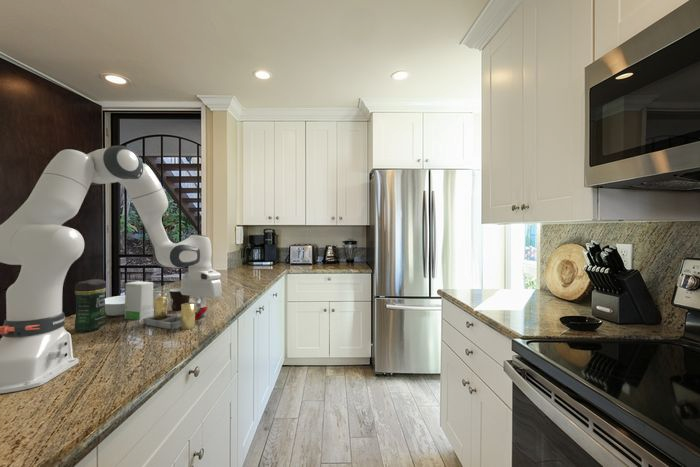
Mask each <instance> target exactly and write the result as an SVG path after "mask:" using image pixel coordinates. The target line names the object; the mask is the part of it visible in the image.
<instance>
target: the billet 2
mask: <svg viewBox="0 0 700 467" xmlns="http://www.w3.org/2000/svg"><path fill="white" fill-rule="evenodd" d="M195 307H196V302H189V303H184V304H181V313H180V315H181V330H183V331H186V330H187V331H188V330H193V329H195V328H196V319H195V312H196V308H195Z"/></svg>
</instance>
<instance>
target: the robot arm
mask: <svg viewBox="0 0 700 467" xmlns="http://www.w3.org/2000/svg"><path fill="white" fill-rule="evenodd" d="M114 183H119V184H120V185H122V186H123V187H124V188H125V190H126V192H127V194H128V197H129V198H130V201H131V202H132V205H133V207H134V208H135V210H136V211H137V213H138V216H139V218H140V220H141V221H140V222H141V223H142V226H143V228H144V231H145V233H146V235H147V237H148V239H149V241H150V242H149V243H150V244H151V248H152V257H153V261H154V262H155V264H156V265H157V266H159V267H161V268H171V269H172V268H173V269H183V268H188V269H187V271H188V272H185V273H184V274H183V275H182V276H181V277H182V278H181V282H180V288H181V290H180V292H181V294H182V295H189V296H190V297H193V299H194V301H195V302H194V303H195V307H196V308H199V309H200V308H203V307H206V305H205V304H206V301H207V299H217V298H220V297H221V296H222V291H223V290H222V281H221V277H222V273H220V272H218V271H217V270H214V268H212V267H213V266H212V253H213V252H212V243H211V242H212V241H211V239H210V237H208V236H207V235H203V234H194V233H193V234H190V235H189V236H188V237H186V238H185V239H184V240H181V241H178V242H177V243H175V242H173V241H171V240H170V239H169V237H168V234H167V232H166V230H165V227H164V224H163V221H162V218H163V216H164V214H165V213H166V212H167V210H168V207H169V200H168V197H167V194H166V192H165V189H164V188H163V186H162V184H161V182H160V180H159V178H158V177H157V175H156V173H155V172H154V170H152V169H151V167H150V166H149V165H148V164H146V163H144V162H142V160H141V158H140V157H139V155H138V154H137V153H136V152H135V151H134V150H133V149H132V148H131V147H128V146H125V145H112V146H108V147H105V148H100V149H96V150H94V151H91V152H88V153H85V152H83V151H80V150H77V149H72V148H71V149H63V150H60V151H59V152H58V153H57V154H56V155H55V156H54V157H53V158H52V159H51V160H50V162H49V163H48V164H47V165H46V167H45V169H44V170H43V172H42V173H41V174H40V177H39V179H38V180H37V182H36V184H35V186H34V187H33V189H32V191H31V193H30V195H29V196H28V198H27V199H26V200H25V201H24V203H23V204H21V206H20V207H19V208H17V210H16V211H14V213H12V215H11V216H9V218H8V219H6V220H5V221H4V222H3V223H1V224H0V263H2V264H6V265H11V266H13V265H14V266H17V265H18V266H21V268H20V272H19V273H18V277H17V278H16V280H15V281H14V283H12V284H10V286H8V288H7V290H6V292H5V300H6V301H5V304H6V305H5V306H6V310H5V311H6V314H5V316H6V319H5V320H4V321H3V322H4V323H3V325H0V335H1V336H2V337H1V338H0V394H7V393H14V392H20V391H24V390H28V389H33V388H37V387H39V386H43V385H44V384H46V383H47V382H49V381H51V380H53V379H55V377H57V376H59V375H61V374H62V373H64V372H66V371H67V370H69V369H71V368H72V367H74V366H76V365H77V364H79V363H80V360H79V358H78V357H74V354H73V342H72V335H71V333H70V332H68V331H67V330H66V329H65V327H64V326H65V324H66V322H65V320H66V316H65V312H64V311H63V287H64V282H65V279H66V277H67V273H68V271H69V269H70V267H71V265H72V264H73V263H75V261H77V260H78V259H79V258H81V256H82V254H83V253H84V249H85V240H84V237H83V235H82V234H81V233H80V231H79V230H77V229H76V228H75V229H74V228H72V227H69V226H65V225H64V224H65V223H66V222H67V221H69V220H71V219H73V218H74V217H75V216H76V215H77V214H78V213H79V210H80V209H81V206H82V204H83V202H84V199H85V197H86V195H87V194H88V191H89V188H90V186H91V185H95V186H102V185H106V184H114Z"/></svg>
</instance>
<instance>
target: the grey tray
mask: <svg viewBox="0 0 700 467" xmlns="http://www.w3.org/2000/svg"><path fill="white" fill-rule="evenodd" d="M145 325H146V326H151V327H156V328H161V329H168V330H174V329H178V328H180V327H181V317H180V316H175V315H169V314H167V318H166V319H162V320H159V321H158V320H154V316H151V317H148V318H144V326H145Z"/></svg>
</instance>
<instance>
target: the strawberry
mask: <svg viewBox="0 0 700 467" xmlns="http://www.w3.org/2000/svg"><path fill="white" fill-rule="evenodd" d="M208 308H209V307H208V306H205V307H203V308H200V307H199V309H196V310H195V320H199V319H200V318H207V314H205V313H206V312H207V310H208Z"/></svg>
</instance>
